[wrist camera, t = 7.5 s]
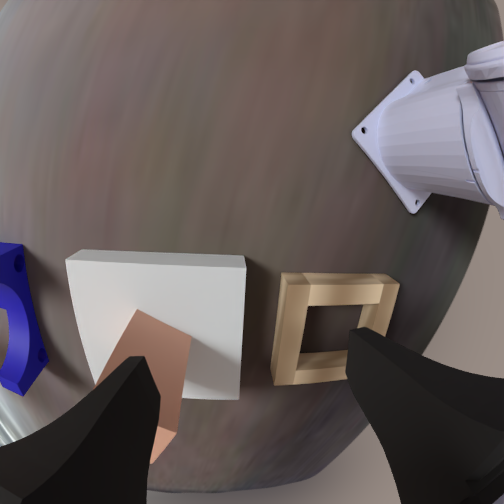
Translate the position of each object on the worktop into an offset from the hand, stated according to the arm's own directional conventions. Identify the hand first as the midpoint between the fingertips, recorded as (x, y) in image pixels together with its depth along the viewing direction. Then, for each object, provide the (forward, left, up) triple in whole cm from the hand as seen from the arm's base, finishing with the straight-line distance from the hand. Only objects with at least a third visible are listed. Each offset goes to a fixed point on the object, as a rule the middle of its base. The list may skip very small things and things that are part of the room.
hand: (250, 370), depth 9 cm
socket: (-1, +8, -10) cm, 13 cm away
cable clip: (+17, -13, -11) cm, 24 cm away
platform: (+7, -1, -10) cm, 13 cm away
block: (+7, -1, -8) cm, 11 cm away
